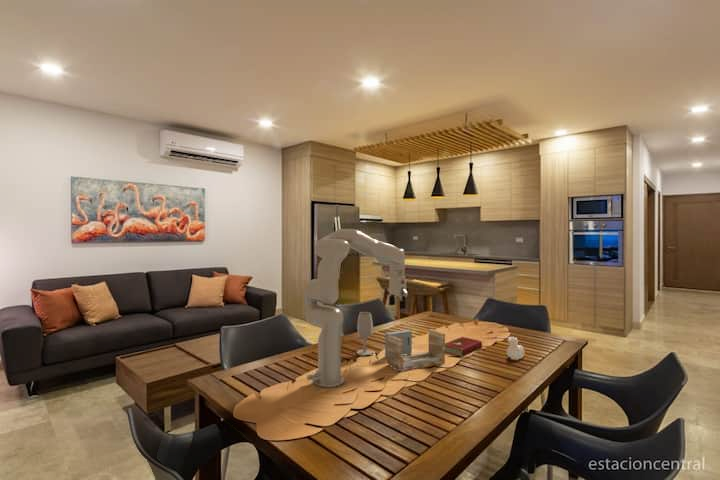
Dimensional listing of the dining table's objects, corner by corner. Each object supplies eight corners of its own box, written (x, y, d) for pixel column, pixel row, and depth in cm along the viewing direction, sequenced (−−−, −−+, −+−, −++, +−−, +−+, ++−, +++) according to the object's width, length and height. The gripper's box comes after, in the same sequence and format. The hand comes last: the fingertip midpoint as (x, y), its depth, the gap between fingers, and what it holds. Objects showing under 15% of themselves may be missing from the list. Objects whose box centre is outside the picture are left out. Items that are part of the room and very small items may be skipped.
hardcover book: (482, 348, 204) (482, 340, 204) (462, 357, 189) (462, 349, 189) (462, 343, 212) (462, 336, 212) (441, 351, 198) (441, 343, 198)
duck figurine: (521, 359, 191) (509, 339, 196) (532, 353, 186) (520, 332, 191) (507, 364, 184) (495, 342, 190) (518, 358, 179) (505, 336, 185)
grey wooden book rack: (399, 371, 168) (399, 341, 168) (387, 364, 177) (387, 335, 177) (444, 362, 180) (444, 333, 180) (431, 356, 189) (431, 328, 189)
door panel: (388, 358, 186) (388, 334, 186) (384, 356, 189) (384, 332, 189) (411, 354, 192) (412, 331, 192) (407, 352, 195) (408, 329, 195)
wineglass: (373, 356, 189) (373, 315, 188) (356, 356, 189) (356, 315, 188) (373, 351, 197) (373, 311, 197) (356, 350, 198) (356, 311, 197)
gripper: (413, 274, 184) (413, 309, 185) (394, 271, 199) (394, 303, 200) (400, 275, 181) (400, 310, 181) (382, 271, 196) (382, 304, 197)
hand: (397, 306), depth 191 cm, fingers open, 9 cm apart
